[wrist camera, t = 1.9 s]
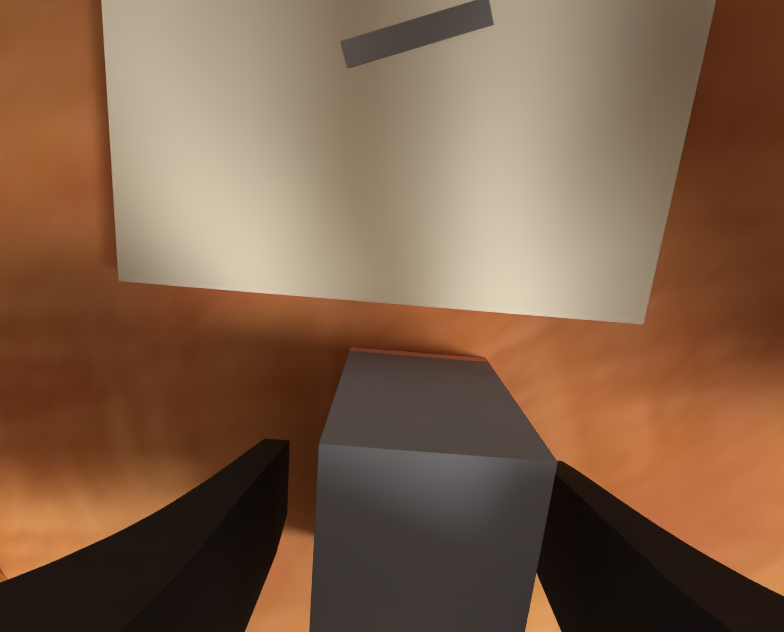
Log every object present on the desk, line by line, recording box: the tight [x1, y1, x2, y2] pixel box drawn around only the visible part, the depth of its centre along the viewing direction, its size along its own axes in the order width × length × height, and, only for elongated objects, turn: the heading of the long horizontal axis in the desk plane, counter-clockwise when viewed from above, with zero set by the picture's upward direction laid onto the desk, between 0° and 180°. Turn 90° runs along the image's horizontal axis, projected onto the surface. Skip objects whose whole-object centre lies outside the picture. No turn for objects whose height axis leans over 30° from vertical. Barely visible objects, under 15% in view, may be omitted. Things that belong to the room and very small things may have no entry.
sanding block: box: [309, 347, 557, 632], centre depth 9 cm, size 4×6×5 cm, turn 175°
